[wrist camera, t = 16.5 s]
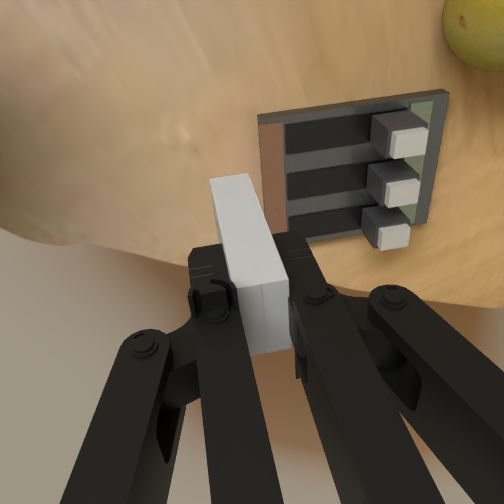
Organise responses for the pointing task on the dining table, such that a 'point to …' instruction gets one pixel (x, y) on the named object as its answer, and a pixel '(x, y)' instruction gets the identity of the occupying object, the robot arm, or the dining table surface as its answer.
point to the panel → (338, 163)
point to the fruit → (476, 32)
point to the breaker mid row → (393, 183)
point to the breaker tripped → (385, 227)
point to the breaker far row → (399, 134)
